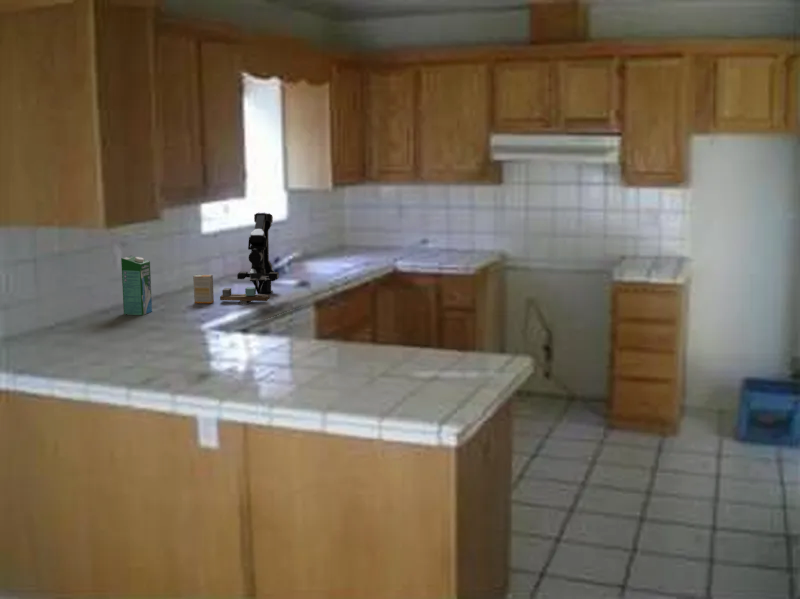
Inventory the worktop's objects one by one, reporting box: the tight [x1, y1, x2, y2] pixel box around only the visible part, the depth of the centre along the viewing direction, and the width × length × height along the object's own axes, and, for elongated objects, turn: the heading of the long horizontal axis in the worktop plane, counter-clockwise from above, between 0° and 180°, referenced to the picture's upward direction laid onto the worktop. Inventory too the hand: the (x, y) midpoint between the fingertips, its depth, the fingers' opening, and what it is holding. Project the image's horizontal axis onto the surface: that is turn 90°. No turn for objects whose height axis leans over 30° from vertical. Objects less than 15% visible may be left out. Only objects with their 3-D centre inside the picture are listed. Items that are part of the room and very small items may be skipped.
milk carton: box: [120, 255, 153, 316], centre depth 405 cm, size 9×9×25 cm
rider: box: [244, 286, 257, 296], centre depth 432 cm, size 5×4×5 cm
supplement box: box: [192, 274, 215, 305], centre depth 431 cm, size 8×5×13 cm, turn 84°
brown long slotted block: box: [219, 287, 270, 305], centre depth 433 cm, size 9×22×6 cm, turn 88°
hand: (258, 293), depth 432 cm, fingers closed
